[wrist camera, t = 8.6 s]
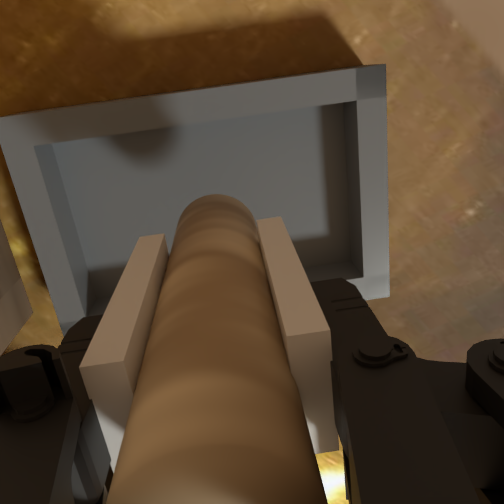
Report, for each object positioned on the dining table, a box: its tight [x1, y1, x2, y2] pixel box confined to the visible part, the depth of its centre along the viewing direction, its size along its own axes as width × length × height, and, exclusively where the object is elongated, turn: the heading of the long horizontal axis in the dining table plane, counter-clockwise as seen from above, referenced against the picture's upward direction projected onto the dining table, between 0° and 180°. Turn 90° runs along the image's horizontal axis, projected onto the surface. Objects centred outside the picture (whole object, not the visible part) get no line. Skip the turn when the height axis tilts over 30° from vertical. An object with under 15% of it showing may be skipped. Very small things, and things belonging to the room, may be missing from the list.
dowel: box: [106, 194, 328, 504], centre depth 12 cm, size 3×3×12 cm
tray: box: [0, 64, 390, 336], centre depth 21 cm, size 15×10×3 cm
